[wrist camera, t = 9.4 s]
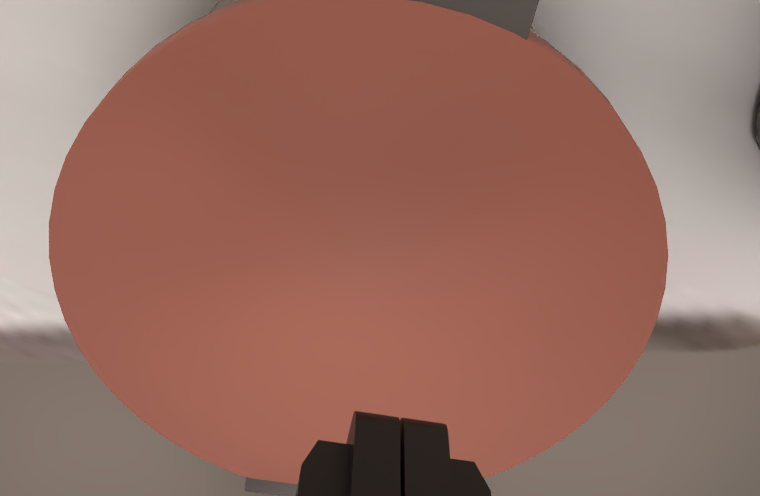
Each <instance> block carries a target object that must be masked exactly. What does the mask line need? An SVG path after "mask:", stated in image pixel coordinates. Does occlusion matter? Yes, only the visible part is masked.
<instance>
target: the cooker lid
mask: <svg viewBox="0 0 760 496" xmlns="http://www.w3.org/2000/svg"><path fill="white" fill-rule="evenodd" d="M538 1H539V0H242V1H239V2H236V3H232V4H230V5H228V6H226V7H224V8H221V9H219V10H217V11H215V12H213V13H210V14H208V15H206V16H204V17H202V18H200V19H197V20H195V21H193V22H191V23H190V24H188V25H187V26H185V27H183V28H182V29H180V30H179V31H177V32H176V33H174V34H173V35H171V36H170V37H168V38H167V39H165V40H164V41H162V42H161V43H159V44H157V45H156V46H155V47H154V48H153V49H152V50H150V51H149V52H148V53H147V54H146V55H145V56H144V57H143V58H142V59H140V60H139V61H138V62H137V63H136V64H135V65H134V66H133V67H132V68H130V69H129V70H128V71H127V72H126V73H125V74H124V75H123V77H122V78H121V79H120V80H119V81H118V82H117V84H116V85H115V86H114V87H113V88H112V89H111V90H110V92H109V93H108V94H107V95H106V97H105V98H104V99H103V100H102V102H101V103H100V104H99V105H98V107H97V108H96V109H95V110H94V112H93V113H92V114H91V115H90V117H89V118H88V119H87V120H86V122H85V123H84V125H83V127H82V129H81V130H80V132H79V134H78V136H77V138H76V139H75V141H74V143H73V145H72V147H71V148H70V150H69V152H68V154H67V156H66V158H65V161H64V164H63V167H62V170H61V173H60V176H59V179H58V181H57V184H56V187H55V191H54V197H53V203H52V209H51V215H50V221H49V259H50V265H51V271H52V277H53V282H54V288H55V292H56V295H57V298H58V301H59V304H60V307H61V310H62V313H63V316H64V319H65V321H66V323H67V325H68V327H69V329H70V331H71V333H72V335H73V337H74V339H75V341H76V343H77V345H78V347H79V349H80V351H81V352H82V354H83V355H84V357H85V358H86V360H87V361H88V362H89V364H90V365H91V367H92V368H93V370H94V371H95V373H96V374H97V376H98V377H99V378H100V379H101V380H102V381H103V382H104V384H105V385H106V386H107V387H108V388H109V389H110V390H111V392H112V393H113V394H114V395H115V396H116V397H117V398H118V399H119V400H120V401H121V402H122V403H123V404H124V405H125V406H126V407H127V408H129V409H130V410H131V411H132V412H133V413H134V414H135V415H136V416H137V417H138V418H140V419H141V420H142V421H143V422H144V423H146V424H147V425H148V426H150V427H151V428H153V429H154V430H156V431H157V432H158V433H159V434H161V435H162V436H164V437H165V438H166V439H168V440H169V441H171V442H173V443H175V444H177V445H178V446H180V447H181V448H183V449H185V450H186V451H188V452H190V453H192V454H193V455H195V456H197V457H199V458H201V459H204V460H206V461H208V462H210V463H212V464H214V465H216V466H219V467H221V468H223V469H225V470H228V471H231V472H234V473H236V474H239V475H242V476H245V477H246V483H245V491H248V492H256V493H263V494H272V495H279V496H296V491H297V485H298V480H299V475H300V470H301V465H302V463H303V462H304V460H305V459H306V457H307V456H308V454H309V453H310V451H311V450H312V448H313V447H314V445H315V444H316V442H317V441H318V440H322V441H330V442H337V443H344V444H346V442H347V438H348V434H349V430H350V425H351V421H352V417H353V414H354V411H360V412H367V413H373V414H380V415H387V416H394V417H399V420H400V419H401V418H409V419H416V420H423V421H430V422H437V423H444V424H446V425H447V429H448V436H449V449H450V458H451V459H458V460H465V461H472V462H475V464H476V466H477V467H478V469H479V471H480V473H481V474H482V476H483V478H485V477H488V476H491V475H494V474H497V473H499V472H502V471H505V470H507V469H509V468H512V467H514V466H516V465H518V464H520V463H522V462H524V461H526V460H529V459H530V458H533V457H535V456H536V455H538V454H540V453H541V452H543V451H545V450H546V449H548V448H550V447H551V446H553V445H555V444H556V443H558V442H560V441H561V440H563V439H564V438H565V437H566V436H568V435H569V434H570V433H572V432H573V431H574V430H576V429H577V428H578V427H580V426H581V425H582V424H584V423H585V422H586V421H587V420H588V419H589V418H590V417H591V416H592V415H593V414H594V413H596V412H597V411H598V410H599V409H600V408H601V407H602V406H603V405H604V404H605V403H606V402H607V401H608V400H609V399H610V398H611V396H612V395H613V394H614V393H615V391H616V390H617V389H618V388H619V386H620V385H621V384H622V383H623V382H624V380H625V379H626V378H627V377H628V375H629V374H630V372H631V370H632V369H633V367H634V365H635V364H636V362H637V361H638V359H639V357H640V356H641V354H642V352H643V351H644V349H645V347H646V344H647V342H648V340H649V337H650V335H651V333H652V330H653V328H654V326H655V323H656V321H657V318H658V314H659V310H660V306H661V302H662V298H663V295H664V291H665V283H666V272H667V261H668V249H667V236H666V223H665V218H664V214H663V210H662V206H661V202H660V198H659V194H658V190H657V186H656V184H655V182H654V179H653V177H652V175H651V173H650V170H649V168H648V166H647V164H646V161H645V159H644V157H643V154H642V152H641V151H640V149H639V147H638V146H637V144H636V143H635V141H634V139H633V138H632V136H631V135H630V133H629V131H628V130H627V128H626V127H625V125H624V124H623V122H622V121H621V119H620V118H619V116H618V115H617V113H616V112H615V110H614V108H613V107H612V105H611V104H610V102H609V101H608V99H607V98H606V97H605V96H604V95H603V94H602V93H601V91H600V90H599V89H598V88H597V87H596V86H595V85H594V84H593V83H592V81H591V80H590V79H589V78H588V77H587V76H586V75H585V74H584V73H583V72H582V70H581V69H580V68H578V67H577V66H576V65H575V64H574V63H572V62H571V61H570V60H569V59H567V58H566V57H565V56H564V55H563V54H561V53H560V52H559V51H558V50H556V49H555V48H554V47H553V46H552V45H550V44H549V43H548V42H546V41H545V40H543V39H541V38H540V37H538V36H536V35H535V34H533V33H531V32H530V28H531V25H532V21H533V18H534V15H535V11H536V8H537V5H538Z"/></svg>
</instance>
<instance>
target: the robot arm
mask: <svg viewBox="0 0 760 496" xmlns="http://www.w3.org/2000/svg"><path fill="white" fill-rule="evenodd" d="M296 496H491V491H490V489H489V487H488V485H487V483H486V482H485V480H484V478H483V476H482V474H481V473H480V471H479V469H478V467H477V466H476V464H475V462H472V461H465V460H458V459H451V458H450V449H449V436H448V429H447V425H446V424H444V423H437V422H430V421H423V420H416V419H409V418H401V419H400V420H399V417H394V416H387V415H380V414H373V413H367V412H360V411H354V414H353V417H352V421H351V425H350V430H349V434H348V438H347V442H346V444H344V443H337V442H330V441H322V440H318V441H317V442H316V444H315V445H314V447H313V448H312V450H311V451H310V453H309V454H308V456H307V457H306V459H305V460H304V462H303V463H302V465H301V470H300V475H299V480H298V485H297V491H296Z"/></svg>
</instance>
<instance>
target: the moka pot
mask: <svg viewBox="0 0 760 496" xmlns="http://www.w3.org/2000/svg"><path fill="white" fill-rule="evenodd" d="M756 141H757V144H758V147H759V149H760V104H759V110H758V115H757V129H756Z"/></svg>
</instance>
